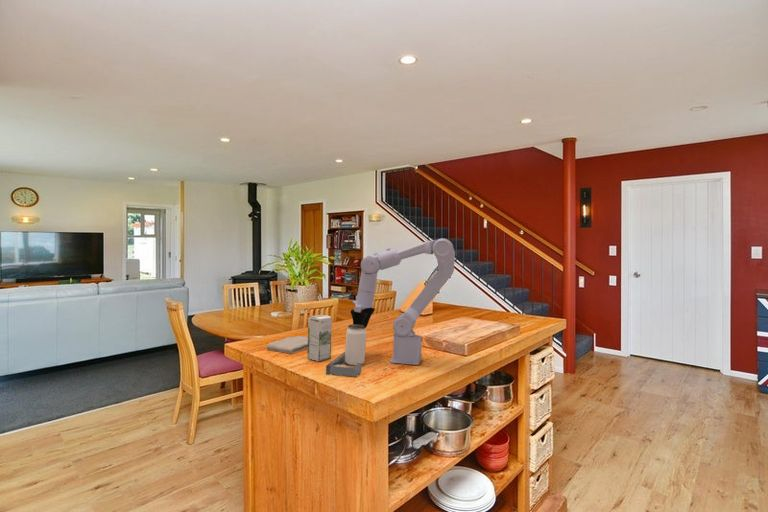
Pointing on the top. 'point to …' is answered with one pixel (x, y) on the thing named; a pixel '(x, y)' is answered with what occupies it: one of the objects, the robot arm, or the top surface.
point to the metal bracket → (343, 367)
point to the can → (355, 344)
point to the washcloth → (289, 344)
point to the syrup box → (319, 337)
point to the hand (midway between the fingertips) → (360, 329)
